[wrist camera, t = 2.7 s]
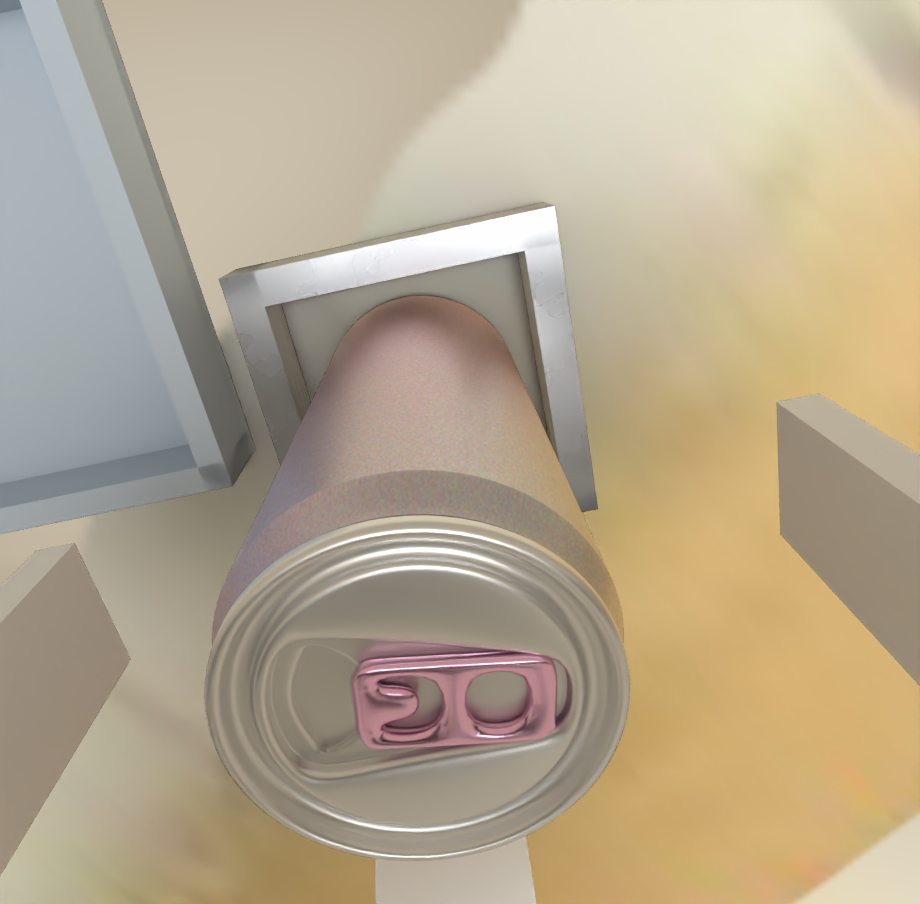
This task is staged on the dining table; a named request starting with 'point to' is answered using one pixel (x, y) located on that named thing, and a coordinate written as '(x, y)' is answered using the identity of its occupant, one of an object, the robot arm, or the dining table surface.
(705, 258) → the dining table surface
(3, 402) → the tray
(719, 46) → the dining table surface
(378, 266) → the socket collar
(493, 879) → the white curved strip
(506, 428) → the beverage can
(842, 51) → the dining table surface
